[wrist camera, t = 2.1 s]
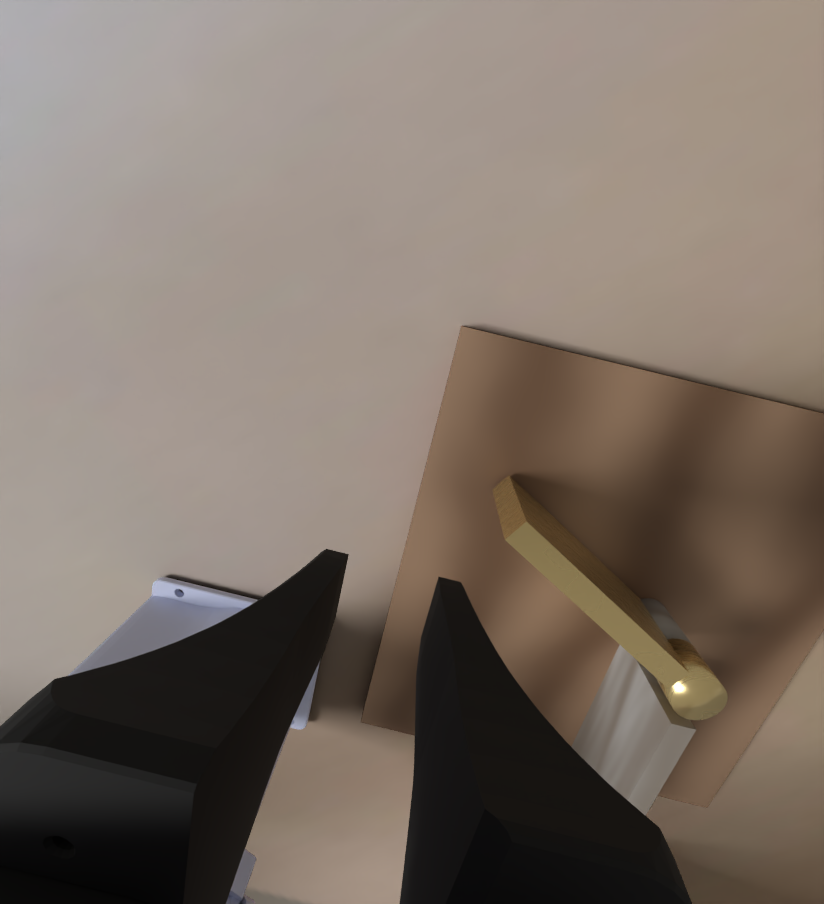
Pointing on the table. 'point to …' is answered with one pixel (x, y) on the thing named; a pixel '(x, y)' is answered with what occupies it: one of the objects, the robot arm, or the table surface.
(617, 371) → the hinge base
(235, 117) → the table surface
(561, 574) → the hinge leaf
